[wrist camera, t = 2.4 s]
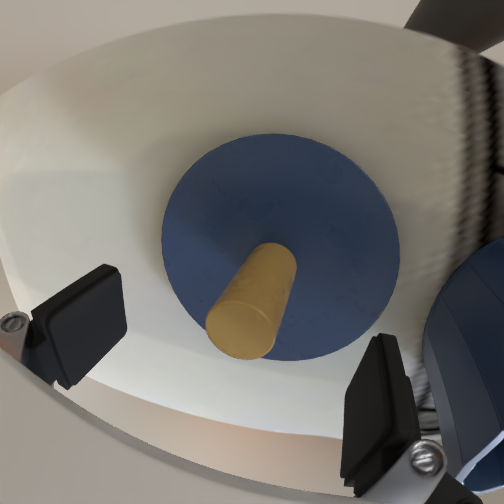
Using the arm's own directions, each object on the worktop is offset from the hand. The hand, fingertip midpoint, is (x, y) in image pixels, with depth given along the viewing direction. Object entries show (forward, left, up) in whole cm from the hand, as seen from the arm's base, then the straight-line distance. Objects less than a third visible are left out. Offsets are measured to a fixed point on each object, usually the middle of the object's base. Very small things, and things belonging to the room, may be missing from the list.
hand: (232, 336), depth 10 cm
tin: (+1, +15, -6) cm, 16 cm away
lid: (0, 0, -6) cm, 6 cm away
